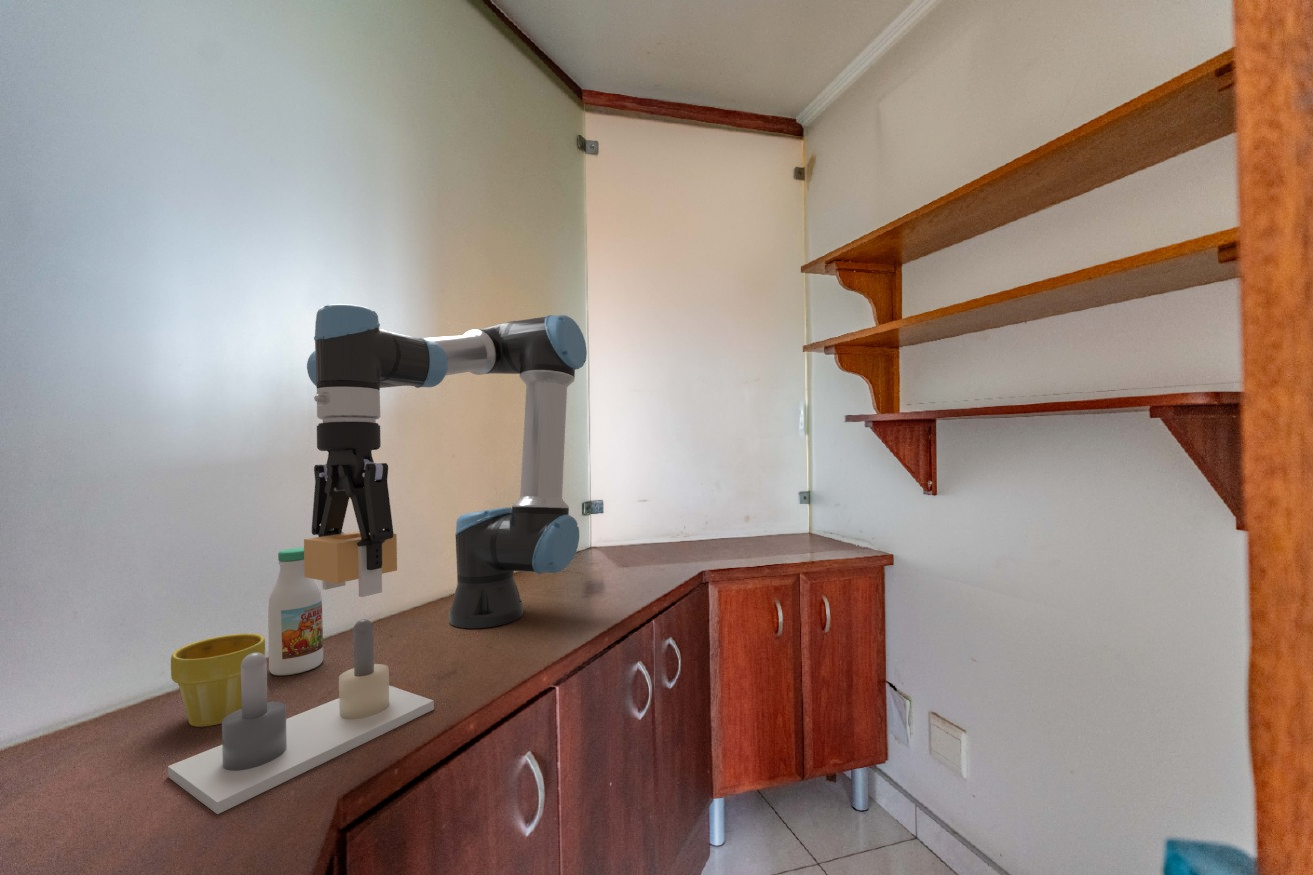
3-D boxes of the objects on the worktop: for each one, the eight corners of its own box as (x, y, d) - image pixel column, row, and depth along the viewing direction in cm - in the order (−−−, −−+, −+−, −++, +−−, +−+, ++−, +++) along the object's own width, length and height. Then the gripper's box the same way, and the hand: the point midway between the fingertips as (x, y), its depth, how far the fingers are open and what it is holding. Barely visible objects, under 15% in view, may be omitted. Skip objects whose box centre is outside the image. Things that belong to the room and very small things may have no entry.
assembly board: (379, 689, 83) (377, 602, 84) (433, 709, 77) (431, 613, 77) (168, 776, 62) (166, 659, 62) (217, 814, 55) (215, 682, 55)
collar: (363, 565, 79) (363, 530, 80) (397, 570, 75) (396, 533, 75) (304, 577, 73) (303, 539, 73) (337, 583, 68) (336, 543, 69)
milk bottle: (261, 679, 89) (258, 555, 89) (279, 662, 96) (277, 547, 96) (315, 672, 91) (312, 551, 91) (329, 656, 98) (326, 543, 98)
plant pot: (280, 707, 79) (279, 638, 79) (191, 742, 70) (189, 664, 70) (245, 692, 84) (244, 628, 84) (158, 723, 75) (157, 651, 75)
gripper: (280, 424, 77) (282, 588, 76) (366, 416, 66) (369, 607, 65) (335, 425, 83) (337, 577, 82) (422, 418, 72) (425, 592, 72)
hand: (351, 590), depth 74 cm, fingers closed on collar, 8 cm apart
